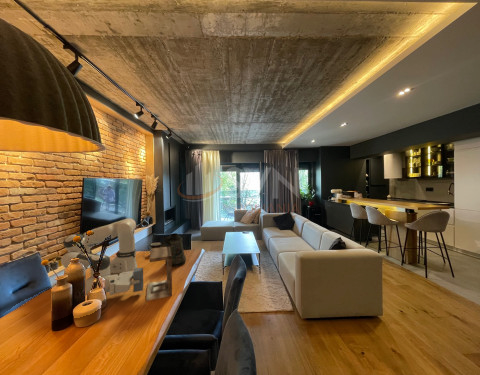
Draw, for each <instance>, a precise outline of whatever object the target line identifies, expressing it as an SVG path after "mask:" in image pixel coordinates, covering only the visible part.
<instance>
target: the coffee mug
mask: <svg viewBox="0 0 480 375" xmlns="http://www.w3.org/2000/svg"><path fill="white" fill-rule="evenodd" d="M161 246H162V243H161V242H153V243H151V244H149V245H148V247H147V249H148V250H149V251H150V250H151V248H160V247H161ZM149 247H150V248H149Z"/></svg>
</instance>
